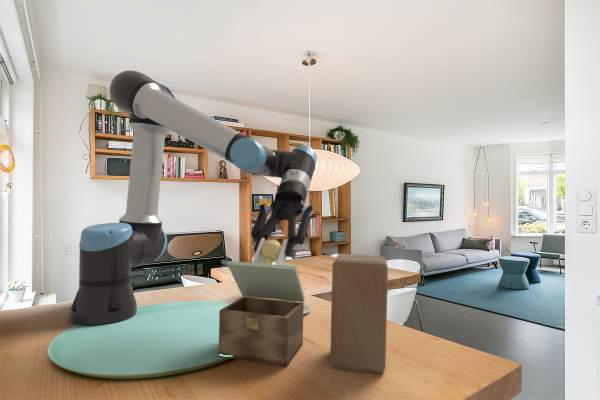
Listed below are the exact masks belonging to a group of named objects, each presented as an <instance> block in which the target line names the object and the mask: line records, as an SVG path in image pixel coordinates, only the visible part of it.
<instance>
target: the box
mask: <svg viewBox="0 0 600 400" xmlns="http://www.w3.org/2000/svg"><path fill="white" fill-rule="evenodd" d="M304 305H305V302H298V301H296V302H294V301H284V300H279V299H269V298H259V297H250V296H241V297H239V298H238V299H236V300H235V301H233V302H231V303H230V304H228V305H225V306H224V307H223V308H221V309H219V313H218V314H219V320H218V321H219V323H218V354H223V355H233V360H239V361H247V362H252V363H259V364H264V365H271V366H277V367H283V368H284V367H285V368H287V367H288V366H289V364H290V363H291V362H292V361H293V359H294V358H295V356H296V354H297V353H298V352H299V351H300V349H301V348H302V347H303V346H304V345H303V342H304V341H303V340H304V339H303V338H304V337H303V336H304V315H303V309H304Z"/></svg>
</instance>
